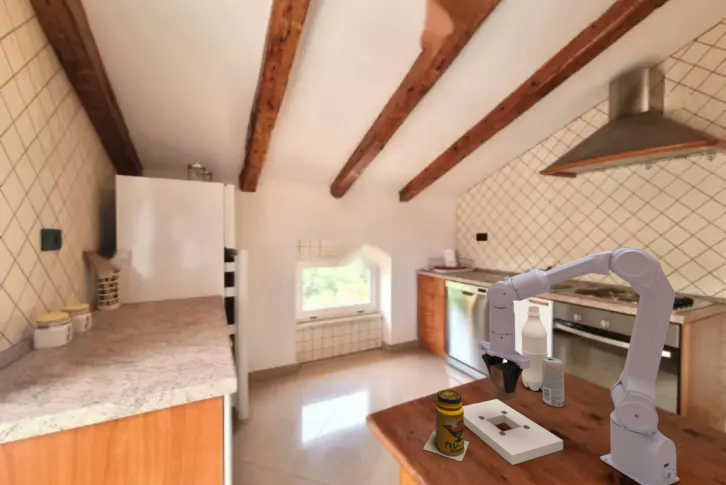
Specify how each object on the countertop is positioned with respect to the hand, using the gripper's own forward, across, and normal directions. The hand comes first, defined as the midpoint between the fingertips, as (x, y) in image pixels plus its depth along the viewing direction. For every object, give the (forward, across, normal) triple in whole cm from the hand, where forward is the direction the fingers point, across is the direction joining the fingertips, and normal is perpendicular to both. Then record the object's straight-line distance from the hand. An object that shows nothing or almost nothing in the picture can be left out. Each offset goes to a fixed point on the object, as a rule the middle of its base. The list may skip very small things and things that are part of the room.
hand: (502, 388), depth 78 cm
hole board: (+10, 0, 0) cm, 10 cm away
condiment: (+11, 0, -16) cm, 19 cm away
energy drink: (+11, -6, +23) cm, 26 cm away
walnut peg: (+2, 0, 0) cm, 2 cm away
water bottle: (+11, -15, +26) cm, 32 cm away
